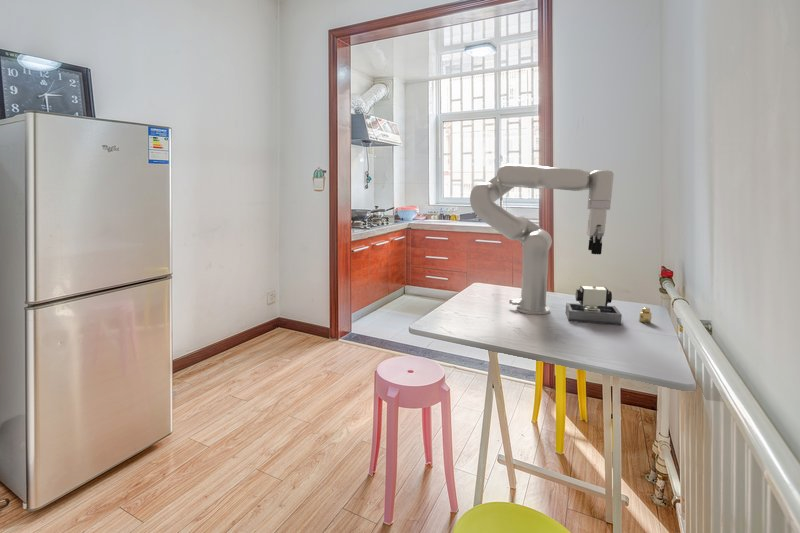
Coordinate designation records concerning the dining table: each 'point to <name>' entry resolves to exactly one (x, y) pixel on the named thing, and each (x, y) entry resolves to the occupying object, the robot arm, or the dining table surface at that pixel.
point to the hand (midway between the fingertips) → (594, 252)
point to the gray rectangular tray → (593, 314)
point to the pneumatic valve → (593, 297)
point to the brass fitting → (645, 315)
